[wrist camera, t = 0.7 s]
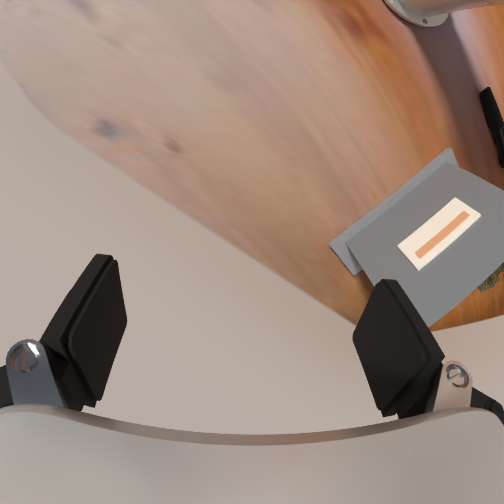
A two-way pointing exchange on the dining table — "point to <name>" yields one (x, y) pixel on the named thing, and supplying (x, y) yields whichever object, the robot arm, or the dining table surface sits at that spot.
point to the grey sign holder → (430, 237)
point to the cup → (491, 279)
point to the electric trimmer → (494, 119)
